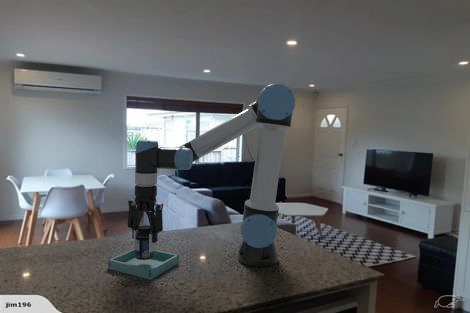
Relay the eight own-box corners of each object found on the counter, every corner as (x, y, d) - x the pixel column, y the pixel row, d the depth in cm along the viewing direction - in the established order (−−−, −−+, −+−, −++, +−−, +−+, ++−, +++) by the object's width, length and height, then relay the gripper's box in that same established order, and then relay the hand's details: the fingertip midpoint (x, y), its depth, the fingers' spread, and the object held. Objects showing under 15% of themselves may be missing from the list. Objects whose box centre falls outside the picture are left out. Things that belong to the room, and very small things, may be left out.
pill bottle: (155, 255, 125) (156, 225, 124) (149, 261, 118) (150, 229, 118) (139, 253, 125) (139, 224, 124) (132, 259, 119) (133, 228, 118)
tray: (178, 263, 126) (178, 254, 125) (150, 279, 111) (150, 270, 111) (139, 254, 133) (139, 246, 133) (108, 268, 118) (108, 260, 118)
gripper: (175, 186, 119) (173, 251, 121) (131, 180, 127) (130, 242, 129) (162, 189, 113) (160, 257, 114) (117, 183, 120) (115, 247, 122)
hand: (144, 249), depth 122 cm, fingers closed on pill bottle, 6 cm apart
